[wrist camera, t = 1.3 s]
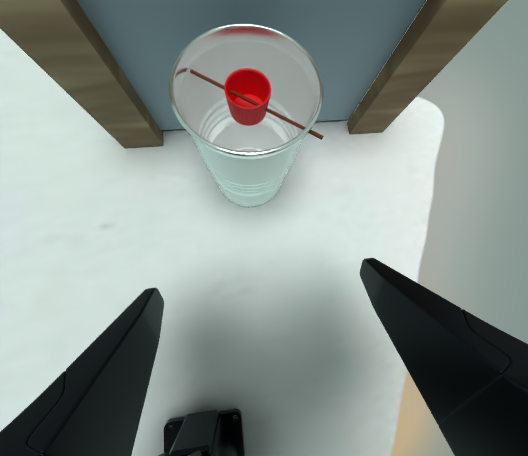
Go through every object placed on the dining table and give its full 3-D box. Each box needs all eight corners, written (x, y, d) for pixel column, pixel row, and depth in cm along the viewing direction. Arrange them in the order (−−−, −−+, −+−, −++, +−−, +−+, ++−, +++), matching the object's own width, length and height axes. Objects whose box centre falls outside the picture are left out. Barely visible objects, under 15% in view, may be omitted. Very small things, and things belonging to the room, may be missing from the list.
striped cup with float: (188, 187, 23) (123, 101, 11) (228, 125, 25) (208, -7, 13) (272, 231, 23) (294, 190, 11) (307, 165, 24) (359, 68, 13)
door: (348, 119, 25) (463, -59, 12) (158, 130, 24) (32, -62, 10) (345, 101, 26) (452, -91, 12) (158, 110, 24) (36, -99, 10)
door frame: (382, 132, 26) (671, -173, 8) (124, 148, 23) (-260, -222, 6) (379, 120, 26) (654, -198, 8) (124, 135, 24) (-242, -255, 6)
